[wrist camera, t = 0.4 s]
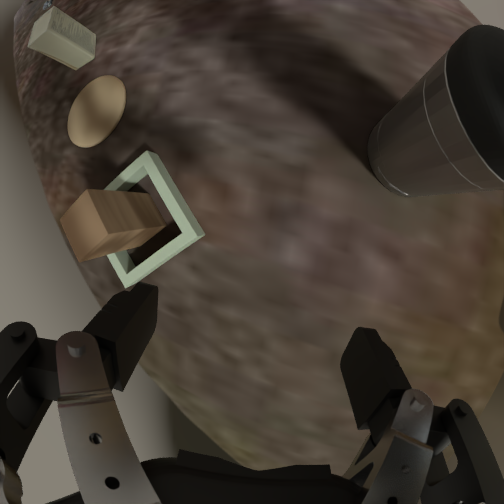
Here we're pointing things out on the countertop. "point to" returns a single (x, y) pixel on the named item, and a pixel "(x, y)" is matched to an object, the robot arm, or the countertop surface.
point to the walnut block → (110, 222)
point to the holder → (175, 205)
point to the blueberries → (47, 4)
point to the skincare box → (63, 39)
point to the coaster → (96, 111)
